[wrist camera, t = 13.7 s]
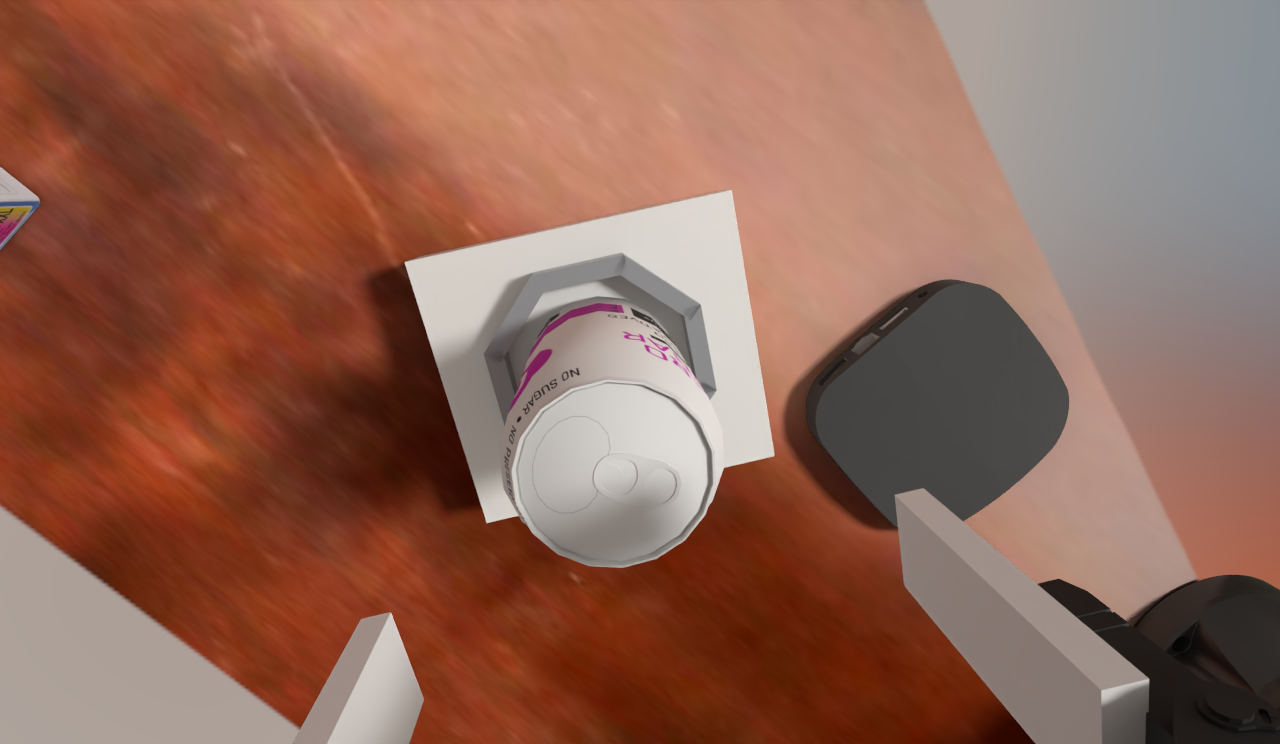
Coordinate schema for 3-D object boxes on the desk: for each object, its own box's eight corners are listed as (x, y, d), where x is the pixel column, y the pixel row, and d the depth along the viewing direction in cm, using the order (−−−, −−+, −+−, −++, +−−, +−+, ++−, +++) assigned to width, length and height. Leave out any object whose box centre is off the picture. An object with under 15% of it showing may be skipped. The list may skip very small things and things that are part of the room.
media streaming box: (902, 538, 45) (923, 561, 43) (780, 401, 42) (795, 416, 39) (1065, 407, 44) (1098, 422, 41) (953, 253, 40) (981, 257, 37)
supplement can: (516, 414, 36) (470, 558, 21) (551, 276, 34) (526, 332, 19) (650, 446, 37) (692, 602, 23) (691, 315, 35) (765, 394, 21)
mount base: (716, 191, 37) (738, 189, 32) (757, 432, 42) (782, 466, 36) (423, 255, 37) (396, 264, 32) (495, 493, 41) (482, 535, 36)
